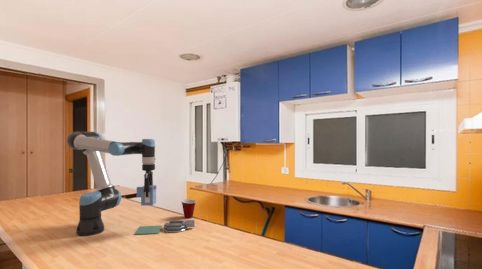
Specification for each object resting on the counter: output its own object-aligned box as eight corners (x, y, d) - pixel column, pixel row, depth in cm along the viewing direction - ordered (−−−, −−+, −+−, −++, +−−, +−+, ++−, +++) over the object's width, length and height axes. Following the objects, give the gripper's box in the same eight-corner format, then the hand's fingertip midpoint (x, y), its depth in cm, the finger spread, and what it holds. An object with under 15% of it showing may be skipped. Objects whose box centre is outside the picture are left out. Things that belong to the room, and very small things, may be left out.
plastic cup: (193, 219, 191) (193, 202, 192) (178, 219, 193) (178, 202, 193) (198, 215, 202) (198, 199, 202) (184, 214, 204) (184, 198, 204)
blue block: (139, 202, 173) (139, 185, 173) (157, 202, 174) (157, 185, 174) (135, 205, 166) (135, 187, 166) (154, 205, 167) (154, 187, 167)
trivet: (134, 235, 162) (134, 234, 162) (139, 227, 176) (139, 226, 176) (158, 233, 164) (158, 232, 164) (162, 226, 178) (162, 225, 178)
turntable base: (161, 233, 165) (161, 232, 165) (164, 225, 179) (164, 224, 179) (186, 232, 166) (186, 230, 166) (188, 224, 181) (188, 223, 181)
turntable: (166, 223, 180) (166, 216, 180) (196, 223, 180) (196, 216, 180) (161, 230, 166) (161, 223, 166) (192, 230, 166) (192, 223, 166)
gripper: (151, 165, 161) (151, 204, 160) (157, 162, 181) (157, 197, 181) (138, 165, 160) (138, 205, 160) (145, 162, 180) (145, 197, 180)
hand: (148, 200), depth 170 cm, fingers closed on blue block, 7 cm apart
